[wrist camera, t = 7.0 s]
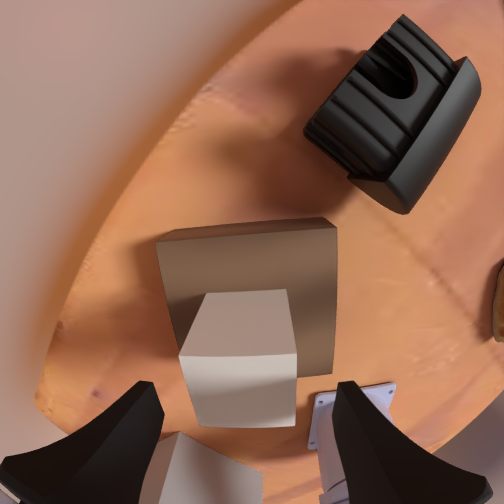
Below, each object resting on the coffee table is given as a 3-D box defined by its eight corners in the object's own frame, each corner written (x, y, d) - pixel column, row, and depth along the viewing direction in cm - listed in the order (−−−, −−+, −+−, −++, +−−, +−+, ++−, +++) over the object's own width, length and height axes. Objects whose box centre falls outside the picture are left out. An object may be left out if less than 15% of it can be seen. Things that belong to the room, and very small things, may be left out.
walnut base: (322, 341, 21) (332, 373, 17) (199, 349, 22) (188, 380, 18) (322, 215, 18) (337, 227, 14) (176, 228, 19) (155, 242, 15)
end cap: (375, 207, 18) (427, 227, 11) (294, 138, 17) (312, 120, 10) (442, 110, 15) (500, 96, 9) (373, 44, 14) (413, 2, 8)
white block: (287, 353, 17) (295, 425, 11) (217, 355, 17) (199, 426, 11) (285, 288, 15) (296, 353, 10) (206, 293, 16) (178, 356, 10)
